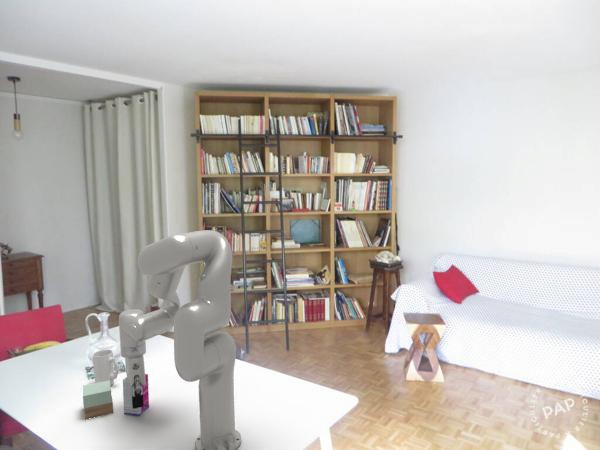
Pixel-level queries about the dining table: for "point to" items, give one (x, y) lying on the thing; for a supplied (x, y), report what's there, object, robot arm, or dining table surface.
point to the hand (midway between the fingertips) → (136, 400)
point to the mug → (105, 366)
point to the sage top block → (96, 394)
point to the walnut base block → (99, 410)
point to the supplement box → (128, 398)
